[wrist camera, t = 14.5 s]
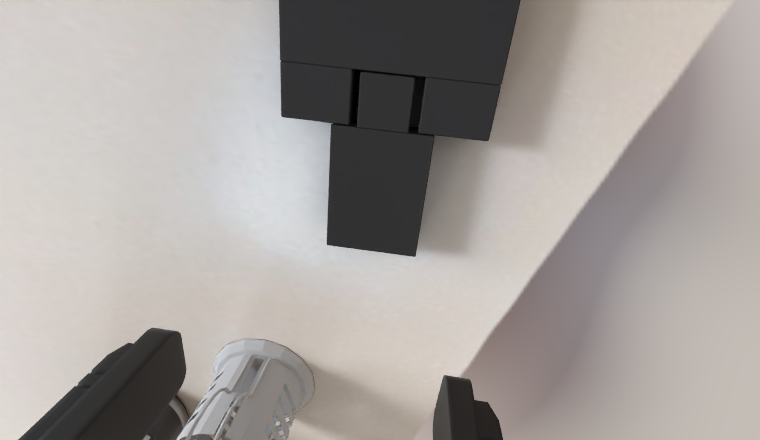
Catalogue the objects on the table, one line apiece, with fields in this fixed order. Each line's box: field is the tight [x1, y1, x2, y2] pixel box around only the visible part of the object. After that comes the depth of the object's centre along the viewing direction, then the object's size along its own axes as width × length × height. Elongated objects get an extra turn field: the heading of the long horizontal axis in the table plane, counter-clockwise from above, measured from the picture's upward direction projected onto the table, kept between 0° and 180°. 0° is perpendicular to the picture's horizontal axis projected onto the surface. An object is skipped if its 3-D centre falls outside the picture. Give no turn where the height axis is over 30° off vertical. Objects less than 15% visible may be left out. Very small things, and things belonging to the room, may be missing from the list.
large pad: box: [279, 0, 521, 141], centre depth 20 cm, size 10×12×2 cm
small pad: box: [327, 71, 434, 257], centre depth 23 cm, size 11×6×2 cm, turn 175°
